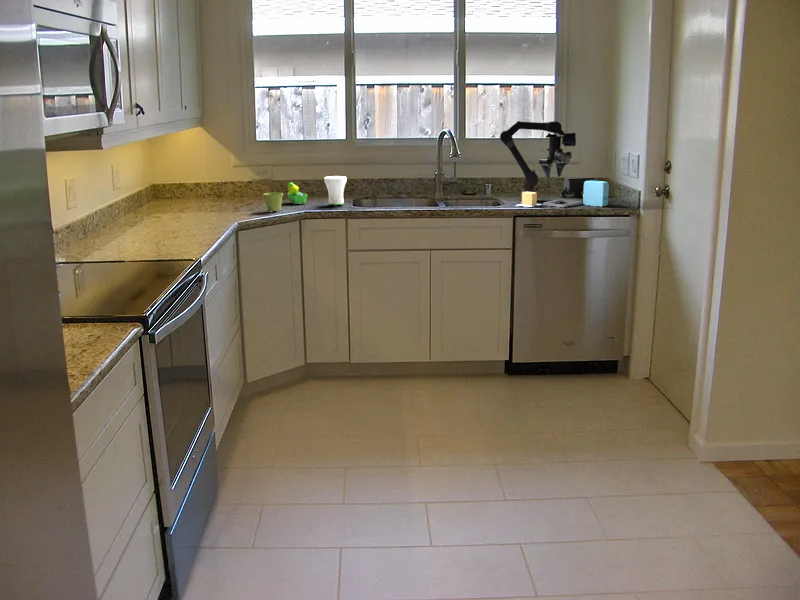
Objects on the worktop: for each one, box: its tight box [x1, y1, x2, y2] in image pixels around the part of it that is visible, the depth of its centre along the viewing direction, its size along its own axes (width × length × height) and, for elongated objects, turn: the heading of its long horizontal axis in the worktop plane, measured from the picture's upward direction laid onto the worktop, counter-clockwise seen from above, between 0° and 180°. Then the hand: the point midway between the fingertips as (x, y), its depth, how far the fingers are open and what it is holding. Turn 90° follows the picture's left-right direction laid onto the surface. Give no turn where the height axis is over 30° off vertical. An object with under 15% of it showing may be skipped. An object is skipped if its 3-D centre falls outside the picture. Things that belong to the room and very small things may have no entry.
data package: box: [582, 179, 610, 208], centre depth 382 cm, size 12×4×12 cm, turn 38°
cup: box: [323, 175, 348, 207], centre depth 393 cm, size 11×11×14 cm
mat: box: [515, 203, 543, 208], centre depth 385 cm, size 9×10×1 cm
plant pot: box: [263, 192, 284, 211], centre depth 376 cm, size 9×9×9 cm
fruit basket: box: [287, 182, 308, 205], centre depth 401 cm, size 11×9×11 cm
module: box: [521, 191, 538, 206], centre depth 384 cm, size 6×4×6 cm, turn 45°
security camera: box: [559, 176, 595, 199], centre depth 413 cm, size 7×18×10 cm, turn 104°
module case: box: [542, 198, 583, 208], centre depth 386 cm, size 12×16×2 cm
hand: (553, 177), depth 397 cm, fingers open, 9 cm apart
